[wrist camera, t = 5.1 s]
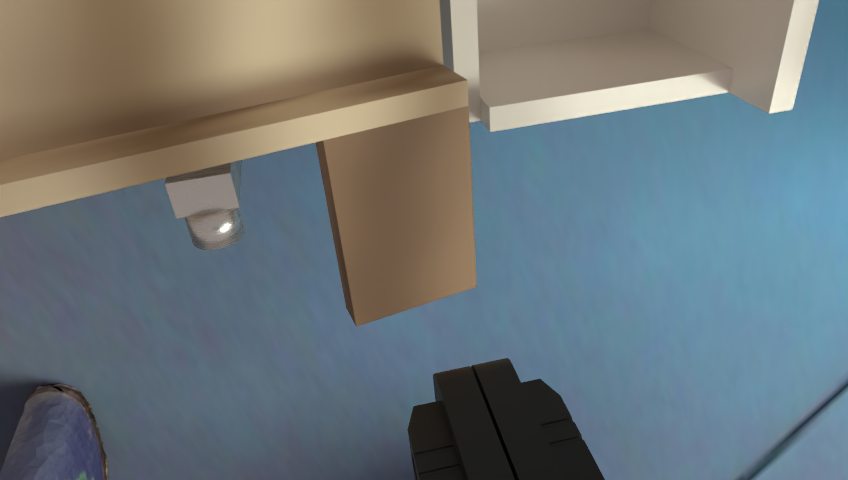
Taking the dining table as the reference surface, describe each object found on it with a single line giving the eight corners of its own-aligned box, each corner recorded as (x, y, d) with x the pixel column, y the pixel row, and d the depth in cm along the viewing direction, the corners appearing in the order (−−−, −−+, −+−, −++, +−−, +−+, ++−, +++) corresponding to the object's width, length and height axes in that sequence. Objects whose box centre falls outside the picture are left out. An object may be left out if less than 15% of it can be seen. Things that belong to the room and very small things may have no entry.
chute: (381, -198, 17) (455, -213, 13) (421, 222, 24) (476, 286, 20) (-325, -141, 13) (-495, -140, 9) (-23, 350, 20) (-52, 461, 16)
